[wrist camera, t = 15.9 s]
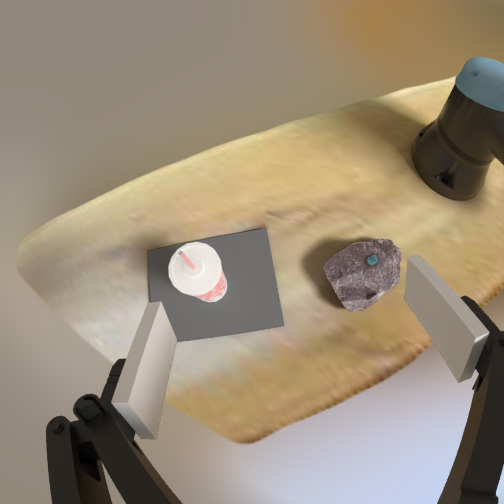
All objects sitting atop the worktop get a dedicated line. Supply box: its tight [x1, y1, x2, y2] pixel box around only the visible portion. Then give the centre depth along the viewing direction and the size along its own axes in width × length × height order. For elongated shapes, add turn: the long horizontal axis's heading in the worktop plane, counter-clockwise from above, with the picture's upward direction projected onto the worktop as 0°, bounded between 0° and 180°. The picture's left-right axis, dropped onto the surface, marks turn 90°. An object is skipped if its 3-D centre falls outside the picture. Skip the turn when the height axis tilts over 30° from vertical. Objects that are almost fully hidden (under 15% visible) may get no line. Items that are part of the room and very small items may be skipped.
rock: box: [323, 239, 401, 312], centre depth 40 cm, size 8×11×5 cm
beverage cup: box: [168, 242, 227, 302], centre depth 36 cm, size 6×6×14 cm
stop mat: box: [148, 228, 284, 342], centre depth 43 cm, size 18×14×1 cm
